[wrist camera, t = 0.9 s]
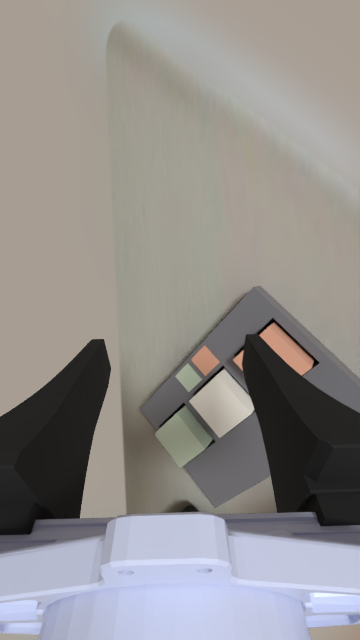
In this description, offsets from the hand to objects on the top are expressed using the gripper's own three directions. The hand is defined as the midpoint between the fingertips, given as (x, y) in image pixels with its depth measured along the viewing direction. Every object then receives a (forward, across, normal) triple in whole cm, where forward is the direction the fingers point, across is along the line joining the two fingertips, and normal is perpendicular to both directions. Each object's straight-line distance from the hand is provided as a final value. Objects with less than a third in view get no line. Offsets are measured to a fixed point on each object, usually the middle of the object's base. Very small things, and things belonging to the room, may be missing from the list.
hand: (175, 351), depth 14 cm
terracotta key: (+6, -8, +6) cm, 11 cm away
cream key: (+6, -4, +11) cm, 13 cm away
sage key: (+6, -1, +15) cm, 16 cm away
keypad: (+6, -6, +12) cm, 14 cm away
